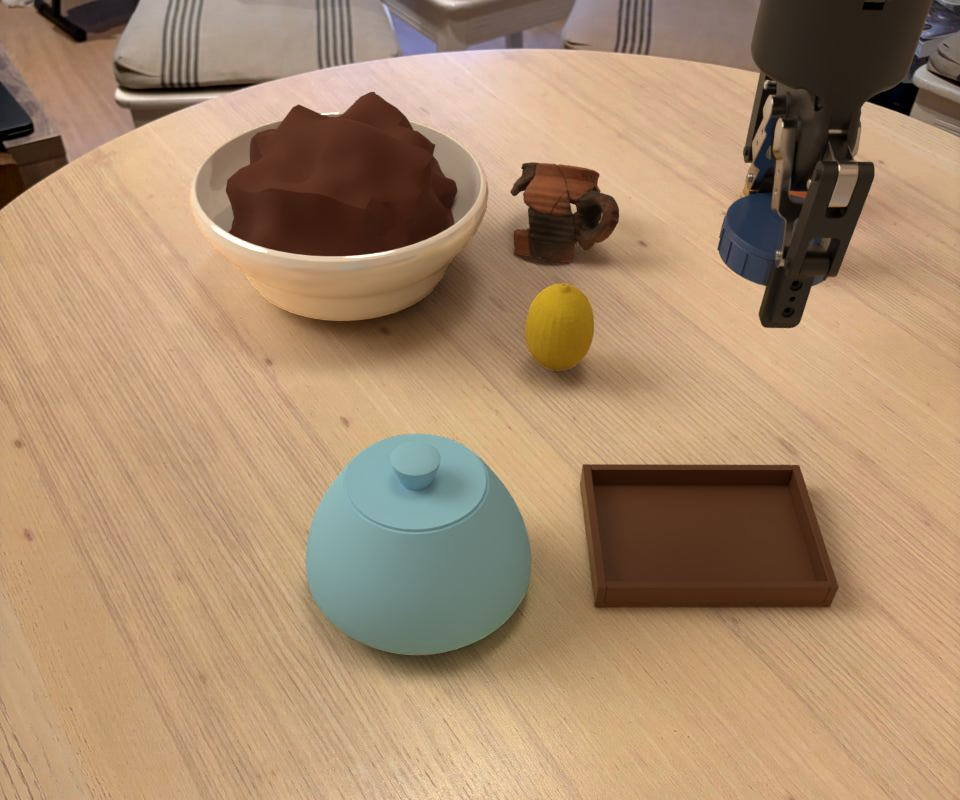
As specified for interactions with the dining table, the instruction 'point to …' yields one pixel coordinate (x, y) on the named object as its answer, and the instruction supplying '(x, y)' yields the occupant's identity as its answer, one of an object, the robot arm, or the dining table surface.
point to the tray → (703, 537)
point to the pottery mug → (562, 211)
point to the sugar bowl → (417, 547)
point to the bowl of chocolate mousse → (341, 208)
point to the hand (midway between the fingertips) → (765, 287)
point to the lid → (752, 237)
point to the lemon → (559, 327)
